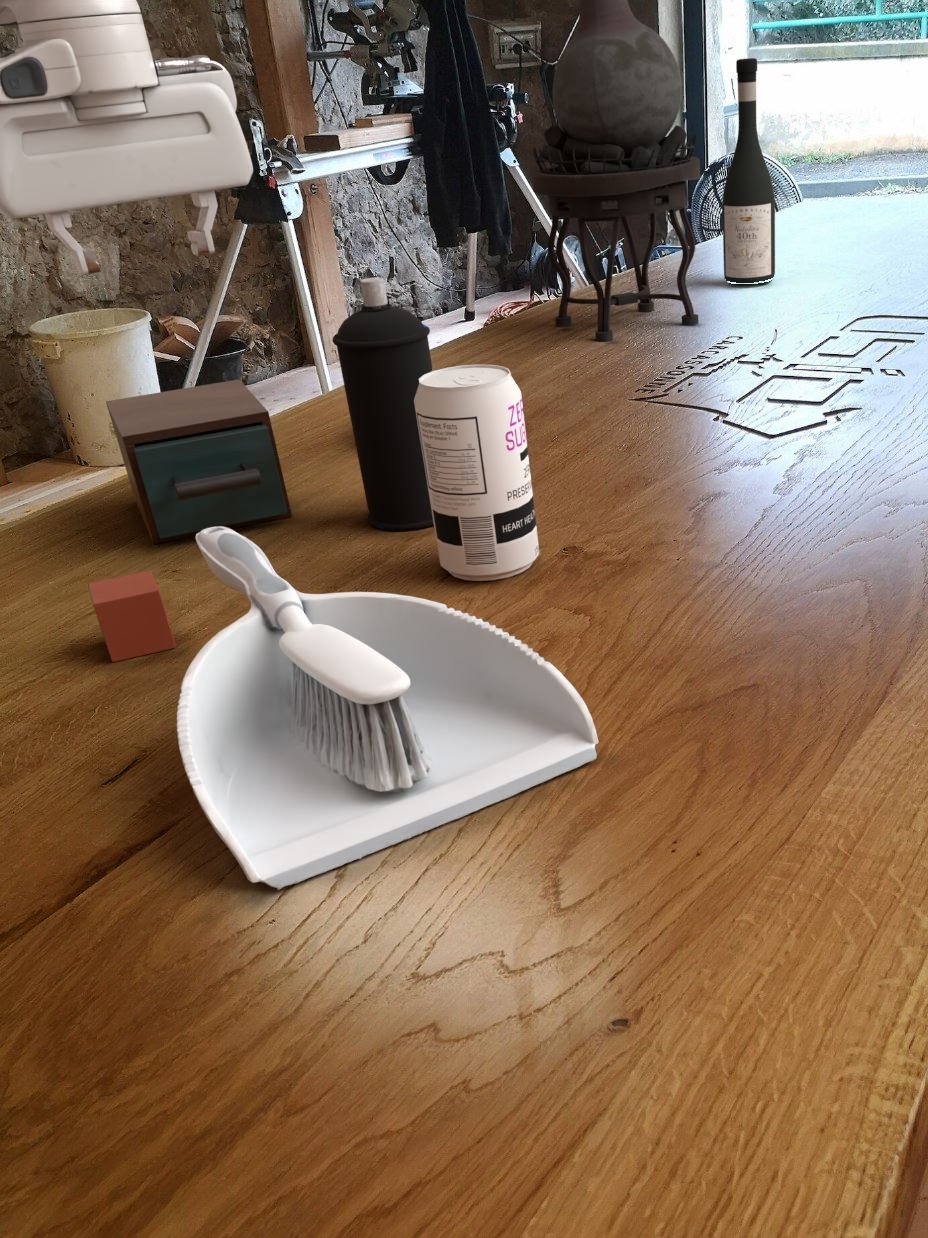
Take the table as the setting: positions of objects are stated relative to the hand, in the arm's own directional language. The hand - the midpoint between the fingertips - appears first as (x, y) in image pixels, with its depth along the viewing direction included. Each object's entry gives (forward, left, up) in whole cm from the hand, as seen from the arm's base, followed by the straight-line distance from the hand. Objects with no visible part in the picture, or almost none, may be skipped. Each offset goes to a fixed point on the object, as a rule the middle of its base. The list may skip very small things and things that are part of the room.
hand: (148, 263), depth 102 cm
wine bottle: (+94, +68, -23) cm, 119 cm away
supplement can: (+18, -24, -23) cm, 38 cm away
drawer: (0, +2, -21) cm, 22 cm away
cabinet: (0, +6, -22) cm, 23 cm away
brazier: (+66, +54, -23) cm, 89 cm away
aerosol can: (+16, -8, -23) cm, 29 cm away
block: (-10, -24, -22) cm, 34 cm away
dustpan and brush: (0, -44, -23) cm, 49 cm away
